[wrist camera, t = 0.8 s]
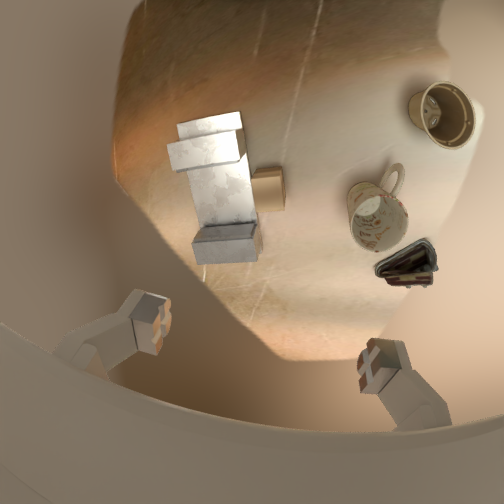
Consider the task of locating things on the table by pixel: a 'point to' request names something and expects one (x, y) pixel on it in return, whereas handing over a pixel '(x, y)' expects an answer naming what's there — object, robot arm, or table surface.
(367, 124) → the table surface
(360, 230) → the mug
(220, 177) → the vise base
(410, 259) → the chocolate cake
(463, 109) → the flower pot
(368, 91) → the table surface
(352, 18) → the table surface
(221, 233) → the block
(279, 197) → the block
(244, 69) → the table surface
